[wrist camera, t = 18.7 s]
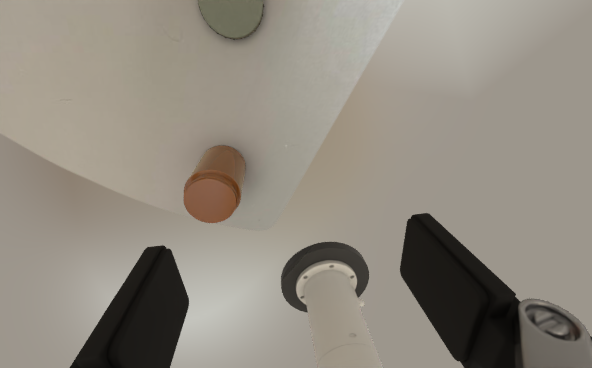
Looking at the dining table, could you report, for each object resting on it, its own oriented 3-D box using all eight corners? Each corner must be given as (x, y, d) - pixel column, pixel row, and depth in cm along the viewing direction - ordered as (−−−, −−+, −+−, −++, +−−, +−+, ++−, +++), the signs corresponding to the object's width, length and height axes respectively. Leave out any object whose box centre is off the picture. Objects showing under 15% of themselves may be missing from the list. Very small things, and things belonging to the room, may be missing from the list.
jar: (253, 159, 38) (250, 193, 28) (232, 192, 40) (222, 234, 30) (213, 136, 36) (195, 164, 26) (193, 172, 37) (169, 210, 28)
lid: (186, -7, 28) (182, -11, 27) (236, -52, 27) (234, -58, 26) (229, 52, 31) (227, 52, 30) (275, 14, 30) (276, 12, 28)
